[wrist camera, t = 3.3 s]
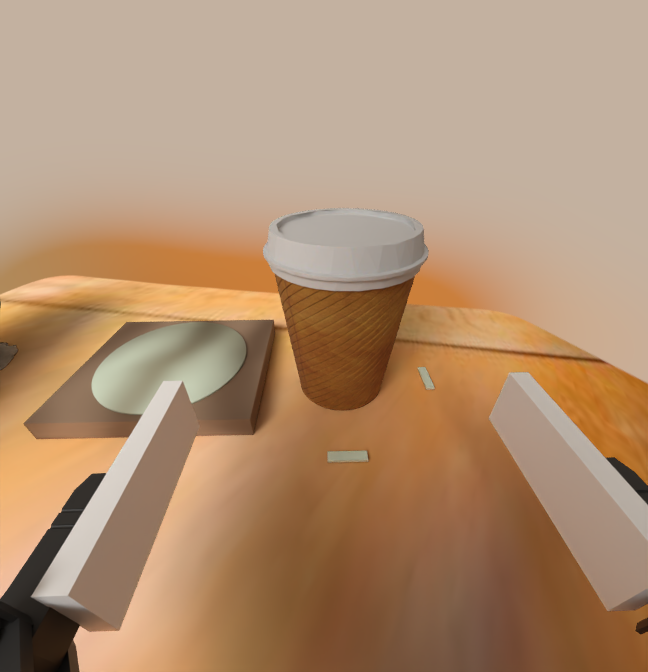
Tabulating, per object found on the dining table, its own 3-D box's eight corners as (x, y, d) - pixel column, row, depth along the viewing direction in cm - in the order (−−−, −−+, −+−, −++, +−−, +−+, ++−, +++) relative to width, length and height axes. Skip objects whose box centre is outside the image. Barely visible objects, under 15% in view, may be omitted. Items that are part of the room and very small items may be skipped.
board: (275, 332, 29) (273, 318, 28) (253, 434, 19) (249, 417, 18) (132, 335, 29) (125, 320, 28) (36, 439, 19) (21, 421, 18)
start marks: (407, 330, 29) (407, 328, 29) (466, 459, 18) (467, 457, 18) (263, 332, 29) (263, 330, 29) (228, 464, 18) (227, 462, 17)
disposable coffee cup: (375, 339, 28) (390, 203, 21) (424, 415, 21) (471, 241, 14) (275, 353, 27) (256, 210, 20) (287, 442, 19) (264, 258, 12)
